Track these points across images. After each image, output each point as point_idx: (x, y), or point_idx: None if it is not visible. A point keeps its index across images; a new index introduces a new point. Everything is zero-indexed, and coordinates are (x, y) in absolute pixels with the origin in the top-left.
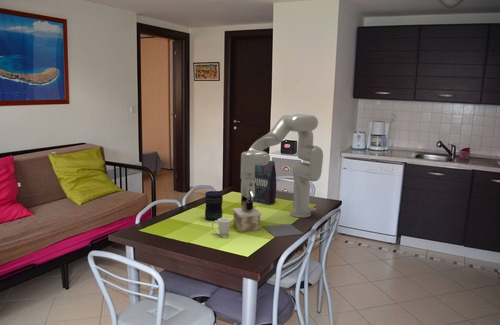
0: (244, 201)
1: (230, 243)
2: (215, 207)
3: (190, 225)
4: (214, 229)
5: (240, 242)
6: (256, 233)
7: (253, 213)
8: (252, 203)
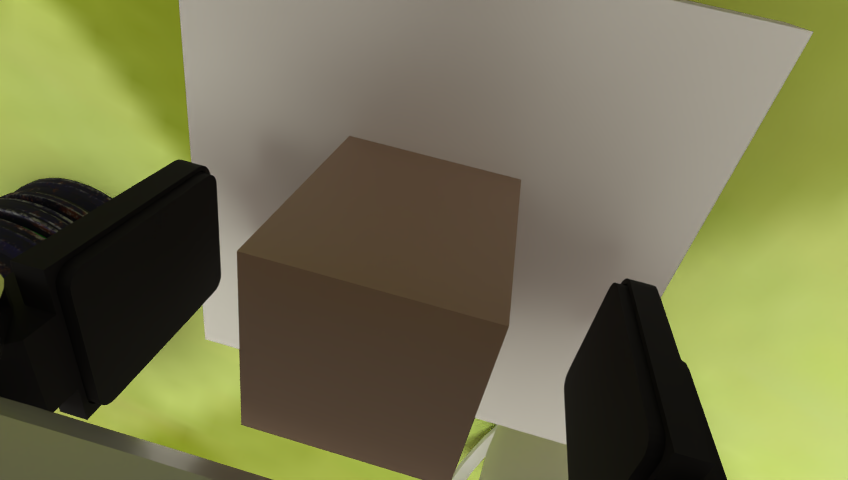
0: (295, 408)
1: (762, 476)
2: None
3: (232, 453)
4: (461, 467)
5: (821, 417)
6: None
7: (667, 222)
8: (691, 430)
